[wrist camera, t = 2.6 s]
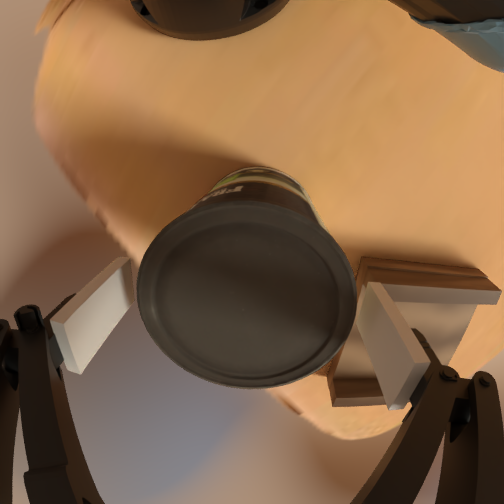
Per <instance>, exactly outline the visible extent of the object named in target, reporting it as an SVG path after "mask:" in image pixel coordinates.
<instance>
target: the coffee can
mask: <svg viewBox="0 0 504 504" xmlns="http://www.w3.org/2000/svg"><path fill="white" fill-rule="evenodd" d="M137 302H138V307H139V311H140V315H141V318H142V320H143V322H144V324H145V327H146V329H147V331H148V333H149V334H150V336H151V338H152V339H153V340H154V342H155V343H156V345H157V346H158V347H159V348H160V349H161V350H162V352H163V353H164V354H165V355H167V356H168V357H169V358H170V359H171V360H172V361H173V362H174V363H176V364H177V365H178V366H180V367H181V368H183V369H184V370H186V371H187V372H189V373H191V374H193V375H195V376H197V377H199V378H201V379H204V380H206V381H209V382H212V383H215V384H218V385H223V386H226V387H232V388H240V389H265V388H272V387H278V386H283V385H286V384H290V383H293V382H295V381H298V380H300V379H303V378H305V377H307V376H309V375H311V374H312V373H314V372H316V371H318V370H319V369H320V368H322V367H323V366H324V365H326V364H327V363H328V362H329V361H330V360H331V359H332V358H333V357H334V356H335V355H336V354H337V353H338V351H339V350H340V349H341V347H342V346H343V345H344V343H345V341H346V340H347V338H348V336H349V334H350V332H351V329H352V326H353V323H354V320H355V316H356V310H357V287H356V282H355V278H354V274H353V270H352V268H351V266H350V264H349V261H348V259H347V257H346V255H345V254H344V252H343V251H342V249H341V248H340V246H339V245H338V244H337V242H336V241H335V240H334V239H333V237H332V236H331V235H330V234H329V232H328V230H327V228H326V226H325V225H324V223H323V221H322V219H321V218H320V216H319V214H318V212H317V211H316V209H315V207H314V205H313V204H312V201H311V199H310V197H309V195H308V194H307V192H306V191H305V189H304V188H303V187H302V186H301V184H299V183H298V182H297V181H296V180H295V179H293V178H292V177H290V176H289V175H287V174H285V173H283V172H281V171H278V170H275V169H272V168H266V167H249V168H244V169H241V170H238V171H235V172H233V173H231V174H229V175H227V176H226V177H224V178H223V179H222V180H220V181H219V182H218V183H217V184H216V185H215V186H214V187H213V189H212V190H211V191H209V192H208V193H207V194H206V195H205V196H204V197H202V198H201V199H200V200H199V201H198V202H197V203H196V204H194V205H193V206H192V207H191V208H190V209H189V210H188V211H187V212H185V213H184V214H182V215H180V216H179V217H178V218H176V219H175V220H174V221H172V222H171V223H170V224H168V225H167V226H166V227H165V228H164V229H163V230H162V231H161V232H160V233H159V234H158V235H157V236H156V237H155V239H154V240H153V241H152V242H151V244H150V246H149V247H148V249H147V251H146V252H145V254H144V256H143V259H142V261H141V265H140V268H139V272H138V277H137Z"/></svg>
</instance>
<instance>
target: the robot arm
mask: <svg viewBox="0 0 504 504" xmlns="http://www.w3.org/2000/svg"><path fill="white" fill-rule="evenodd" d="M130 1H131V4H132V6H133V8H134V10H135V11H136V12H137V14H138V15H139V16H140V17H141V18H142V19H143V20H144V21H146V22H147V23H148V24H149V25H150V26H152V27H153V28H154V29H156V30H158V31H159V32H161V33H163V34H166V35H168V36H171V37H175V38H179V39H185V40H214V39H221V38H226V37H231V36H234V35H238V34H241V33H244V32H246V31H249V30H251V29H254V28H256V27H258V26H260V25H262V24H263V23H265V22H267V21H268V20H270V19H271V18H272V17H274V16H275V15H276V14H277V13H279V12H280V11H281V10H282V9H283V8H284V7H285V5H286V4H287V3H288V1H289V0H130ZM388 1H390V2H392V3H393V4H395V5H397V6H398V7H400V8H402V9H403V10H405V11H407V12H408V13H409V15H410V17H411V19H413V20H414V21H415V22H417V23H418V24H420V25H421V26H424V27H426V28H429V29H433V30H435V31H436V32H438V33H439V34H441V35H442V36H444V37H445V38H446V39H448V40H449V41H451V42H452V43H453V44H455V45H456V46H457V47H459V48H460V49H461V50H462V51H464V52H465V53H466V54H467V55H469V56H470V57H471V58H473V59H474V60H476V61H477V62H479V63H481V64H483V65H485V66H487V67H489V68H491V69H494V70H496V71H499V72H503V73H504V0H388ZM134 301H135V298H134V290H133V281H132V272H131V260H130V258H126V257H118V258H117V259H115V260H114V261H113V262H112V263H111V264H110V265H108V266H107V267H106V268H105V269H104V270H103V271H102V272H100V273H99V274H98V275H97V276H96V277H95V278H94V279H93V280H91V281H90V282H89V283H88V284H87V285H86V286H85V287H84V288H83V289H82V290H80V291H79V292H78V293H77V294H73V295H71V296H69V297H67V298H65V299H64V301H62V302H61V304H59V305H58V306H57V307H56V309H54V310H53V311H52V312H51V313H50V314H48V316H46V318H44V319H42V315H41V312H40V309H39V307H38V306H36V305H25V306H22V307H21V308H19V309H18V310H17V311H16V312H15V313H14V318H15V321H16V323H17V326H18V328H19V330H14V329H11V328H10V326H9V323H8V321H7V320H4V319H0V504H12V476H13V457H14V456H13V455H14V445H15V435H16V427H17V420H18V414H19V408H20V412H21V421H22V429H23V437H24V444H25V450H26V455H27V461H28V465H29V471H27V472H25V473H24V483H25V487H26V491H27V495H28V499H29V502H30V504H105V503H104V502H103V500H102V499H101V497H100V495H99V493H98V491H97V489H96V486H95V483H94V481H93V479H92V476H91V474H90V471H89V469H88V466H87V463H86V460H85V457H84V454H83V452H82V449H81V445H80V442H79V439H78V436H77V433H76V430H75V426H74V422H73V419H72V415H71V411H70V407H69V403H68V398H67V394H66V390H65V384H64V379H63V374H62V370H61V368H60V364H61V363H62V362H63V361H64V362H65V365H66V367H67V369H68V370H69V371H72V372H75V373H78V374H81V373H82V372H83V370H84V369H85V368H86V366H87V365H88V363H89V362H90V360H91V359H92V358H93V356H94V355H95V353H96V352H97V351H98V349H99V348H100V346H101V345H102V344H103V342H104V341H105V339H106V338H107V337H108V335H109V334H110V333H111V331H112V330H113V329H114V327H115V326H116V324H117V323H118V322H119V320H120V319H121V318H122V317H123V315H124V314H125V313H126V311H127V310H128V308H129V307H130V306H131V305H132V303H133V302H134ZM356 324H357V327H358V329H359V332H360V334H361V337H362V339H363V342H364V344H365V347H366V350H367V352H368V355H369V357H370V360H371V363H372V365H373V368H374V371H375V373H376V376H377V379H378V382H379V384H380V387H381V390H382V393H383V396H384V399H385V402H386V404H387V407H388V410H397V409H404V407H405V406H406V404H407V403H408V401H409V399H410V402H411V404H412V407H411V409H410V410H409V412H408V413H407V415H406V416H405V418H404V419H403V420H402V422H403V423H402V425H401V427H400V429H399V431H398V432H397V434H396V436H395V438H394V440H393V441H392V443H391V445H390V446H389V448H388V450H387V451H386V453H385V455H384V456H383V458H382V459H381V461H380V462H379V464H378V465H377V467H376V468H375V470H374V471H373V473H372V475H371V476H370V477H369V479H368V480H367V482H366V483H365V484H364V486H363V487H362V489H361V490H360V491H359V493H358V494H357V495H356V497H355V498H354V499H353V500H352V502H351V503H350V504H413V502H414V500H415V498H416V496H417V494H418V493H419V491H420V489H421V487H422V485H423V483H424V480H425V478H426V476H427V474H428V472H429V470H430V467H431V465H432V463H433V461H434V458H435V456H436V453H437V451H438V448H439V446H440V443H441V441H442V438H443V435H444V432H445V439H444V450H443V459H442V467H441V474H440V480H439V486H438V492H437V497H436V501H435V504H504V431H503V422H502V414H501V407H500V401H499V395H498V390H497V384H496V381H495V379H494V378H493V377H492V375H490V374H489V373H487V372H483V371H478V372H476V373H475V374H474V376H473V377H472V379H464V378H460V377H459V374H458V373H457V372H456V371H455V370H454V369H453V368H451V367H449V366H446V365H442V364H441V362H440V361H439V359H438V357H437V356H436V354H435V353H434V351H433V349H432V348H431V346H430V345H429V343H427V340H426V338H425V337H424V335H423V334H422V333H421V332H419V331H418V330H417V329H416V328H410V327H409V325H408V323H407V322H406V320H405V319H404V317H403V316H402V314H401V313H400V311H399V309H398V308H397V306H396V305H395V303H394V302H393V300H392V299H391V297H390V296H389V294H388V293H387V291H386V290H385V289H384V287H383V286H382V284H381V283H379V282H368V284H367V288H366V291H365V295H364V298H363V302H362V305H361V309H360V312H359V316H358V319H357V322H356Z"/></svg>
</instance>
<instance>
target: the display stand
mask: <svg viewBox="0 0 504 504" xmlns="http://www.w3.org/2000/svg"><path fill="white" fill-rule="evenodd" d="M368 282H379V283H381V284H382V286H383V287H384V289H385V290H386V291H387V293H388V294H389V296H390V297H391V299H392V300H393V302H394V303H395V305H396V306H397V308H398V309H399V311H400V313H401V314H402V316H403V317H404V319H405V320H406V322H407V323H408V325H409V327H410V328H416V329H417V330H418V331H419V332H421V333H422V334H423V335H424V337H425V338H426V340H427V343H429V345H430V346H431V348H432V349H433V351H434V353H435V354H436V356H437V357H438V359H439V361H440V362H441V364H442V365H446V366H447V365H448V364H449V362H450V360H451V358H452V356H453V355H454V353H455V351H456V349H457V347H458V345H459V343H460V341H461V339H462V337H463V335H464V333H465V331H466V329H467V327H468V325H469V323H470V320H471V318H472V316H473V314H474V311H475V309H476V307H477V304H490V305H496V304H497V302H498V300H499V297H500V295H501V292H502V291H501V290H500V289H499V288H498V287H497V286H495V285H494V284H493V283H492V282H491V281H490V280H489V279H488V276H486V275H485V274H484V273H483V272H482V271H480V270H479V269H471V268H462V267H453V266H444V265H435V264H425V263H416V262H407V261H398V260H388V259H379V258H369V257H361V261H360V266H359V270H358V274H357V278H356V287H357V310H356V316H355V320H354V323H353V326H352V329H351V332H350V334H349V336H348V338H347V340H346V341H345V343H344V345H343V346H342V347H341V349H340V350H339V351H338V353H337V354H336V355H335V356H334V357H333V360H332V363H331V366H330V369H329V372H328V375H327V382H328V387H329V390H330V396H331V401H332V407H351V406H372V405H386V402H385V399H384V396H383V393H382V390H381V387H380V384H379V382H378V379H377V376H376V373H375V371H374V368H373V365H372V363H371V360H370V357H369V355H368V352H367V350H366V347H365V344H364V342H363V339H362V337H361V334H360V332H359V329H358V327H357V324H356V322H357V319H358V316H359V312H360V309H361V305H362V302H363V298H364V295H365V291H366V288H367V284H368ZM408 402H410V399H409V401H408Z"/></svg>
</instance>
